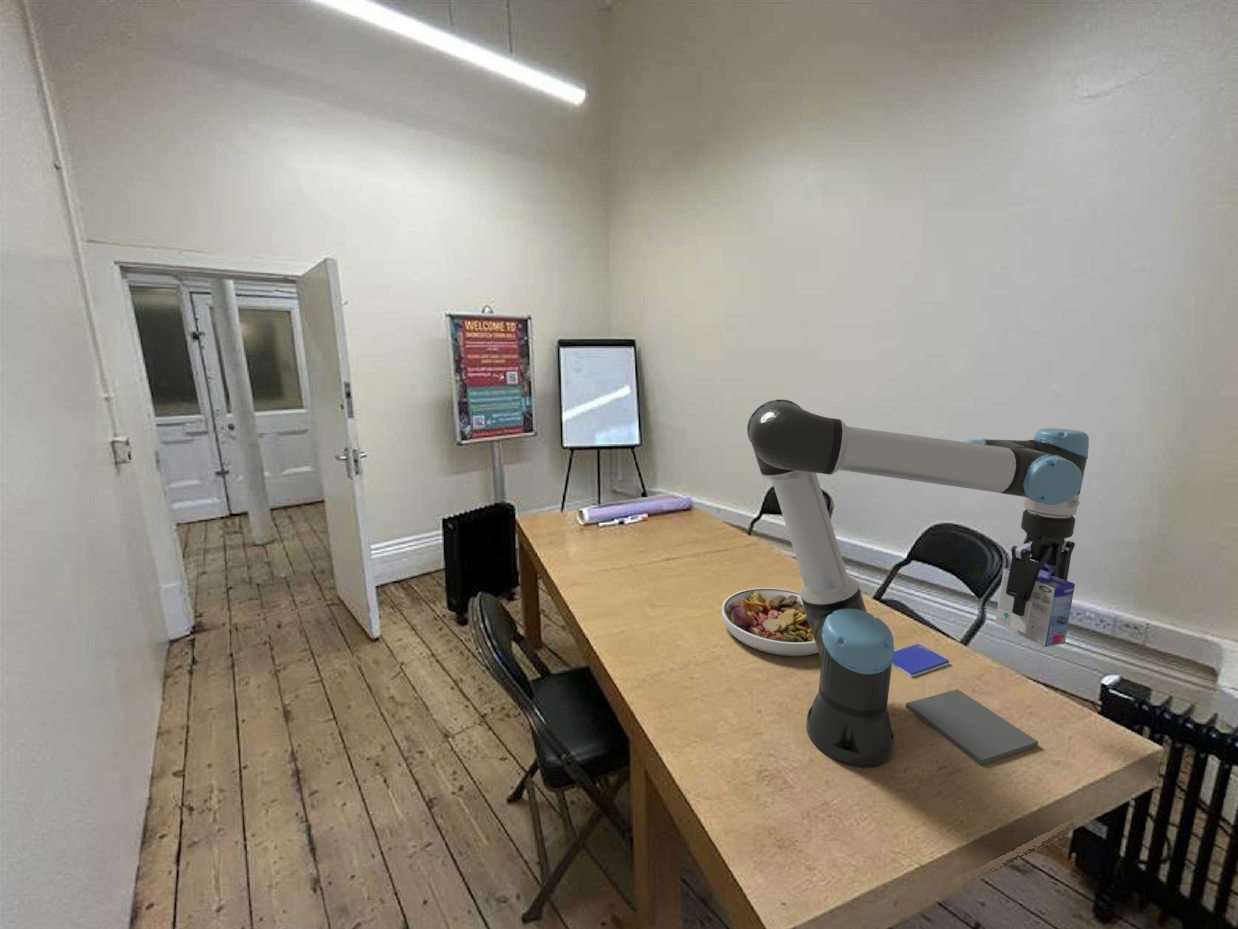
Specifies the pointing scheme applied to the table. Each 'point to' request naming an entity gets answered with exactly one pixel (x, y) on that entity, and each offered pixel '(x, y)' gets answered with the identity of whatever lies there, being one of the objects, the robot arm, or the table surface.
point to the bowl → (770, 621)
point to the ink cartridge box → (1041, 608)
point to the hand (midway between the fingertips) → (1029, 626)
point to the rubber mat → (971, 726)
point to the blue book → (917, 660)
